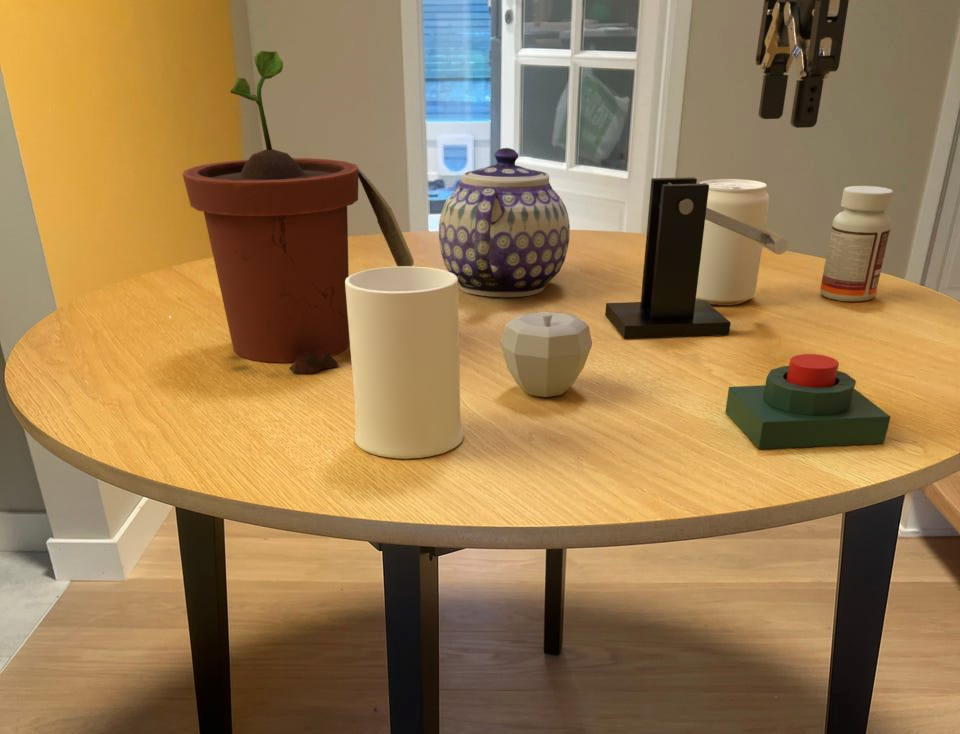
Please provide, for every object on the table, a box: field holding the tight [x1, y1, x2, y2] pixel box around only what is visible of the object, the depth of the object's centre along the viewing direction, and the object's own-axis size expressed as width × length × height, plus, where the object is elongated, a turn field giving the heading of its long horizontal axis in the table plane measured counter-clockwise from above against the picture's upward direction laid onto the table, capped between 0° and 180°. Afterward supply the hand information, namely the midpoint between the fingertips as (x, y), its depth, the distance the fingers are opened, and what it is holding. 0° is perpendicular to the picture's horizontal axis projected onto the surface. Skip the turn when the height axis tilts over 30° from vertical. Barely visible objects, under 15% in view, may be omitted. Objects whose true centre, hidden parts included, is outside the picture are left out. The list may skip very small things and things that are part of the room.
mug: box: [345, 265, 465, 460], centre depth 72 cm, size 12×8×12 cm
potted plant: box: [182, 50, 415, 374], centre depth 87 cm, size 18×22×25 cm
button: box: [786, 353, 840, 388], centre depth 73 cm, size 4×4×2 cm
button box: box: [724, 365, 891, 450], centre depth 74 cm, size 10×8×4 cm
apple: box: [499, 311, 593, 398], centre depth 81 cm, size 8×8×7 cm
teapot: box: [438, 147, 571, 298], centre depth 109 cm, size 25×15×15 cm, turn 165°
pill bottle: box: [820, 185, 894, 303], centre depth 106 cm, size 6×6×11 cm
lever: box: [658, 182, 789, 255], centre depth 94 cm, size 13×5×2 cm, turn 96°
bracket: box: [604, 176, 731, 340], centre depth 96 cm, size 11×9×14 cm
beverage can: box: [696, 178, 770, 306], centre depth 105 cm, size 8×8×12 cm
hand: (785, 122), depth 90 cm, fingers open, 8 cm apart
